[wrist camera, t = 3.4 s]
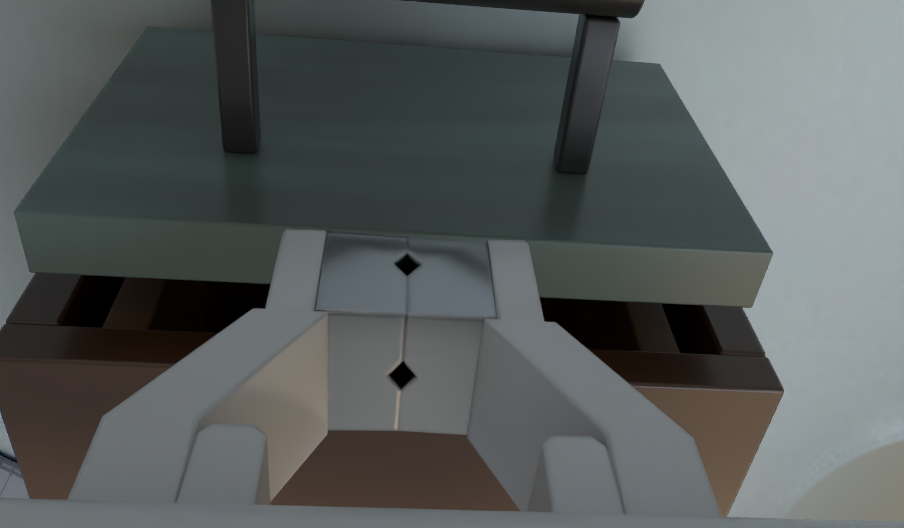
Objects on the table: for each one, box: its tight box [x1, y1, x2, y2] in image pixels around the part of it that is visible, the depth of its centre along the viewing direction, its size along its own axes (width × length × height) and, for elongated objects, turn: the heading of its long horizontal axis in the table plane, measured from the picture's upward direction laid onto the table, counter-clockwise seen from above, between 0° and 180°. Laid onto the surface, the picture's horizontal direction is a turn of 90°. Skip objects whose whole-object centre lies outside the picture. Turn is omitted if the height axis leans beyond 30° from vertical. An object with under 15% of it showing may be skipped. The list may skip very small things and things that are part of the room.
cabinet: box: [0, 273, 784, 517], centre depth 22 cm, size 16×13×10 cm
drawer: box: [14, 0, 773, 353], centre depth 19 cm, size 19×12×8 cm, turn 175°
